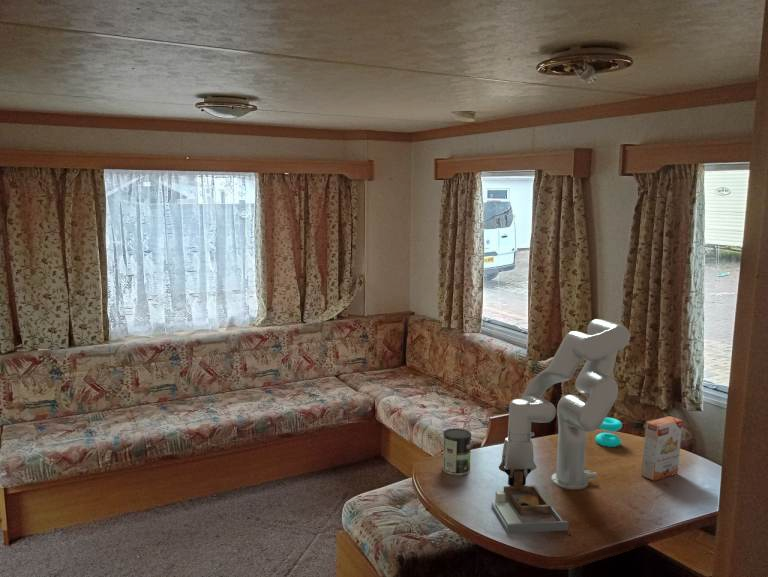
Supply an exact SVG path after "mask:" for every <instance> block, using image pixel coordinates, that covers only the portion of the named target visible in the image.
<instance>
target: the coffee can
mask: <svg viewBox="0 0 768 577" xmlns="http://www.w3.org/2000/svg"><path fill="white" fill-rule="evenodd" d="M442 436H443V440H442V441H443V442H442V443H443V446H442V470H443V472H444V473H446V474H448V475H453V476H464V475H468V474H469V473H470V471H471V448H472V445H471V444H472V433H471V432H470V431H469V430H466V429H464V428H449V429H445V430H444V431H443V432H442Z"/></svg>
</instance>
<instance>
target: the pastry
mask: <svg viewBox="0 0 768 577" xmlns="http://www.w3.org/2000/svg"><path fill="white" fill-rule="evenodd" d="M516 501H517V502H518V504H519V505H520V506H529V505H540V503H539V499H538V498H537V497H535V496H534V495H533V494H524V495H522V496H521V497H519V498H518V499H517V500H516Z"/></svg>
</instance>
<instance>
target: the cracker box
mask: <svg viewBox="0 0 768 577" xmlns="http://www.w3.org/2000/svg"><path fill="white" fill-rule="evenodd" d="M683 422H684V420H682V419H680V418H677V417H674V416H671V415H670V416H664V417H660V418H657V419H653V420H648V421H646V422H645V431H644V441H643V454H642V463H641V475H642V477H644V478H646V479H648V478H649V479H648V480H650V479H651V481H652V480H653V482H656V481H658V479H659V480H662V479H664V478H663V477H665V478H667V477H666V476H668V477H670V476H669V475H671V476H673V475H672V474H674V473H677V472H678V470H679V462H680V452H681V444H682V443H681V442H682V433H683V425H684V424H683ZM677 474H678V473H677ZM641 475H640V476H641ZM661 478H662V479H661ZM655 480H656V481H655Z"/></svg>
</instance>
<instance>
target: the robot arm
mask: <svg viewBox="0 0 768 577" xmlns="http://www.w3.org/2000/svg"><path fill="white" fill-rule="evenodd" d="M586 330H587V331H586V332H587V333H584V332H581V331H578V330H577V331H576V330H573V331H572V330H571V331H569V332H568V333H567V334H565V336H564V338H563V339H562V341H561V343H560V345H559V347H558V349H557V350H556V351H555V353H554V355H553V358H552V359H551V361H550V364H549V365H548V366H547V367H546V368H545V369H543V370H541V372H538V374H537V375H535V376H534V377H533V378H532V379H531V380H530V381H529V383H528V384H527V386H526V388H525V390H524V391H523V393H522V395H521V398H515V399H512V400H510V402H509V405H508V406H509V407H508V423H507V424H508V425H507V427H508V428H507V437H505V439H504V443H503V446H502V448H503V449H502V453H501V463H500V464H499V465H498V469H499V470H500V472H501V471H502V472H503V473H505V474H507V480H508V481H507V483H508V484H507V486H514V477H513V473H514V469H521V470H522V471H523V486H527V485H526V484H527V477H528V475H529V474H530V473H532V471H534V470H536V469H537V464H536V463H535V461H534V458H535V457H534V456H535V455H534V444H533V440H532V437H535V432H534V431H531V430H532V423H544V424H545V423H550V422H551V421H553V420H554V419H555V418H556V415H557V423H558V433H557V434H558V435H557V437H558V438H557V448H556V449H557V450H556V451H557V453H556V469H555V471H556V472H555V473H553V474H552V475H551V482H552V484H554V485H555V486H557V487H559V488H563V489H566V490H583V489H585V488H587V487H588V485H589V479H598V473H597V472H596V471H594V472H591V470H589V469H587V470H585V464H586V449H587V432H588V433H592V432H595V431H597V430H598V429H599V427H600V426H601V425H602V423H603V421H604V420H605V418H606V417H608V414H609V413H610V411H611V409H612V408H613V405H614V404H615V402H616V399H617V398H618V395H619V387H618V383H617V380H615V379H614V378H613V377H611V376H609V374H610V372H611V370H612V368H613V366H614V363H615V358H616V357H615V353H617V352H619V351H621V350H623V349H624V348H626V346H628V344H629V343H630V340H631V333H630V331H629V329H628V328H627V327H626V326H624V325H622V324H621V323H615V322H612V321H609V320H606V319H601V318H594V319H593V320H591V321H590V322H589V323H588V325H587V329H586ZM582 360H585V363H584V365H583V366H582V369H581V370H580V372H579V374H578V375H577V377H576V380H575V383H574V385H575V389H576V390H577V392H578V393H580V394H581V395H583V396H584V397H587V398H588V399H584V398H582V397H581V396H577V395H575V394H566V395H564V396H562V397H561V398H560V399H559V400H558V402H557V407H555V405H554V403H552V402H550V401H548V400H547V399H545V398H543V396H544V394H545V392H546V391H547V390H548V389H549V388H551V386H553V385H555V384H558V383H562V382H567V381H570V380H571V379H572V378H573V376H574V374H575V372H576V370H577V368H578V367H579V365H580V363H581V362H582Z"/></svg>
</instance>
